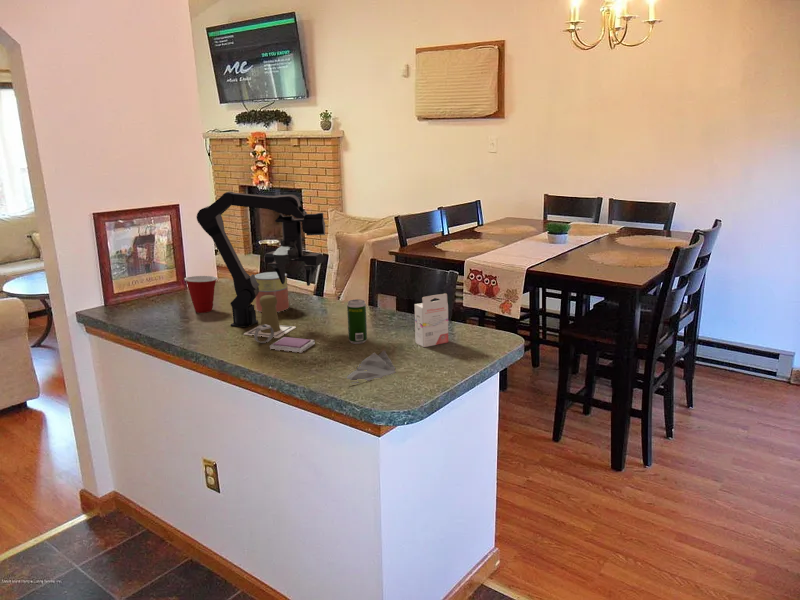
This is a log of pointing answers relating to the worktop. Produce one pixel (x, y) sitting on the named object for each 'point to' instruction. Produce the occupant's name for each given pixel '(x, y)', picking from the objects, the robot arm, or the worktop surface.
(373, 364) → the cloth
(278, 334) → the marked card
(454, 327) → the worktop surface
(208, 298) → the plastic cup
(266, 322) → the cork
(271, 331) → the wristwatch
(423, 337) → the ink cartridge box
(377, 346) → the worktop surface
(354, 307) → the green drink can
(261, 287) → the canned food
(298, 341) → the ink pad
